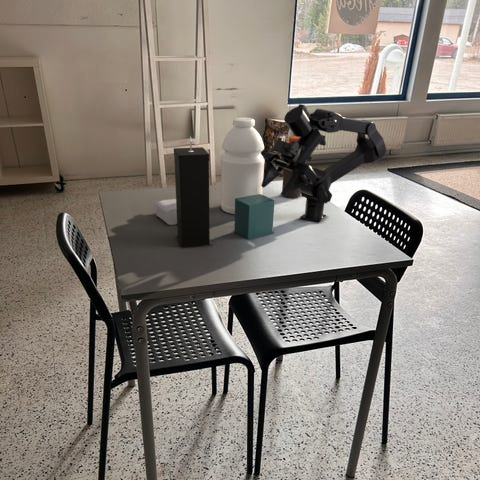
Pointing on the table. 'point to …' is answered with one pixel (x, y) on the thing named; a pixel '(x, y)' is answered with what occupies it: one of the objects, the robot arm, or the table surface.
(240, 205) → the teal box
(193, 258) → the table surface
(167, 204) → the charger
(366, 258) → the table surface
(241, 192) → the bottle
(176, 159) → the tall black block
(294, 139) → the bottle
